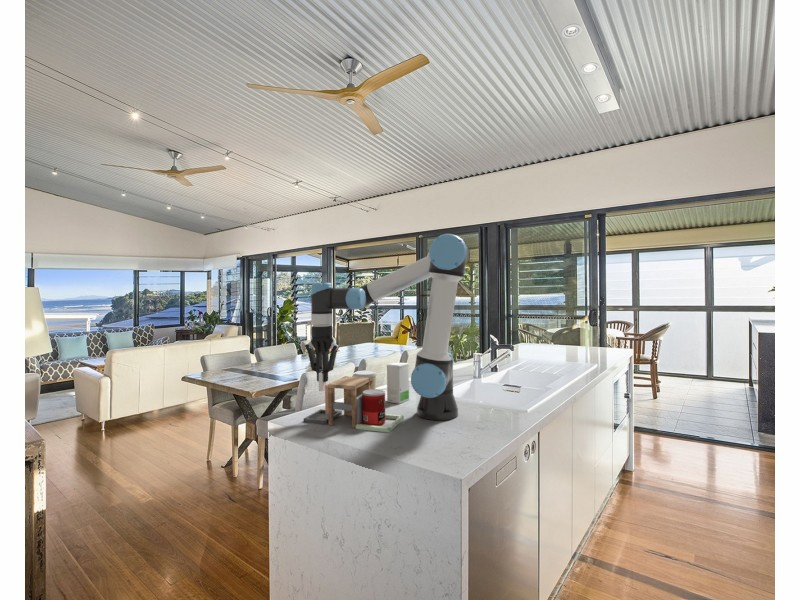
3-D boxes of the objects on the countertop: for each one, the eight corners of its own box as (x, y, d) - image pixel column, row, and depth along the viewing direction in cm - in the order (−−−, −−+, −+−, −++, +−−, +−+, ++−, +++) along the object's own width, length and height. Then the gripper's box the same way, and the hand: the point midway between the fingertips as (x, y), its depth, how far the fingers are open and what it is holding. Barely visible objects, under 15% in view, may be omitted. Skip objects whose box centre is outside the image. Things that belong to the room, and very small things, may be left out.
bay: (403, 418, 150) (403, 415, 150) (389, 432, 136) (389, 428, 136) (372, 415, 154) (372, 412, 153) (355, 428, 139) (355, 425, 139)
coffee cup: (351, 403, 171) (350, 374, 171) (358, 397, 180) (358, 369, 180) (373, 404, 169) (372, 375, 168) (379, 398, 178) (378, 370, 178)
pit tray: (341, 414, 156) (341, 411, 156) (326, 424, 144) (326, 420, 144) (320, 412, 158) (320, 409, 158) (303, 422, 147) (303, 418, 147)
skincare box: (399, 404, 169) (399, 365, 168) (385, 402, 172) (385, 364, 172) (410, 399, 176) (409, 362, 176) (396, 397, 179) (396, 361, 179)
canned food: (382, 427, 141) (382, 394, 141) (359, 426, 142) (359, 393, 142) (387, 420, 148) (387, 389, 148) (365, 419, 150) (365, 388, 150)
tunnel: (370, 416, 153) (369, 377, 153) (355, 428, 140) (354, 385, 140) (345, 414, 156) (345, 376, 156) (328, 425, 143) (328, 384, 143)
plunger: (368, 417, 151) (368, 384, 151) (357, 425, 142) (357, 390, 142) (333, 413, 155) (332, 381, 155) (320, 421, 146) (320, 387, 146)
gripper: (342, 324, 152) (343, 389, 153) (311, 324, 156) (311, 386, 157) (333, 326, 145) (334, 394, 146) (300, 325, 149) (301, 391, 150)
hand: (322, 390), depth 151 cm, fingers closed
